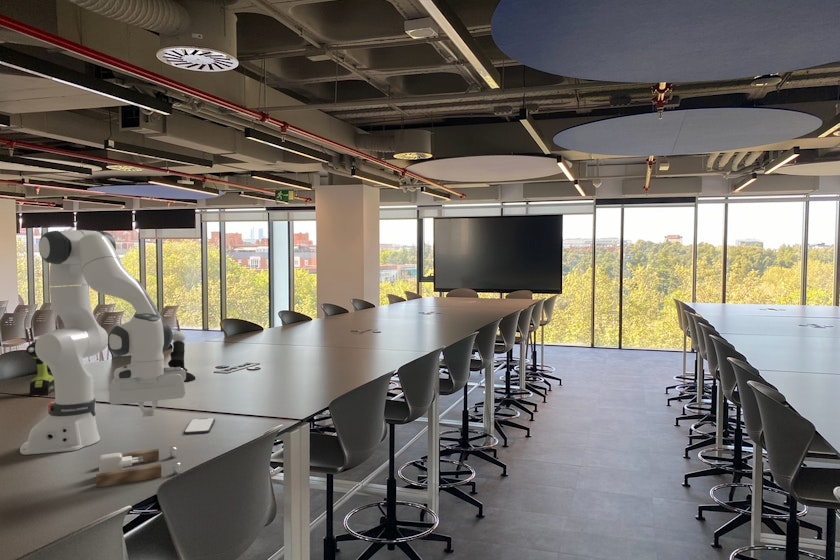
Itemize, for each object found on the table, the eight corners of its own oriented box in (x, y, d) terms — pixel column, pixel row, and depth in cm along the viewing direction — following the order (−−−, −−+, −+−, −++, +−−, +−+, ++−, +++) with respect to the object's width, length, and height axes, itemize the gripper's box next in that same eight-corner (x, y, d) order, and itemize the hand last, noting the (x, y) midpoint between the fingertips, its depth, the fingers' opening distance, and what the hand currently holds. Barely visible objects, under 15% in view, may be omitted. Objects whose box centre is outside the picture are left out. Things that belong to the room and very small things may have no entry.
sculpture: (196, 376, 299) (196, 329, 299) (191, 386, 277) (191, 335, 276) (165, 378, 295) (164, 330, 294) (157, 388, 273) (157, 336, 272)
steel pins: (173, 475, 161) (172, 464, 161) (169, 456, 176) (169, 447, 176) (180, 473, 162) (180, 463, 162) (176, 455, 177) (176, 446, 177)
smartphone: (209, 435, 201) (215, 421, 216) (209, 430, 201) (215, 417, 216) (182, 436, 199) (191, 423, 214) (182, 432, 199) (191, 419, 214)
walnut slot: (96, 487, 153) (96, 476, 153) (99, 467, 168) (99, 457, 168) (161, 476, 160) (161, 466, 160) (158, 458, 175) (158, 448, 175)
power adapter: (142, 467, 167) (142, 447, 167) (143, 472, 163) (143, 452, 163) (99, 474, 162) (99, 454, 162) (99, 480, 158) (98, 459, 158)
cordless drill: (40, 401, 248) (38, 344, 247) (21, 402, 245) (19, 344, 245) (55, 389, 270) (54, 337, 269) (38, 390, 267) (37, 338, 267)
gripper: (185, 364, 174) (185, 409, 174) (109, 370, 164) (109, 417, 165) (186, 368, 168) (187, 414, 169) (108, 374, 159) (108, 422, 159)
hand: (148, 415), depth 167 cm, fingers closed
